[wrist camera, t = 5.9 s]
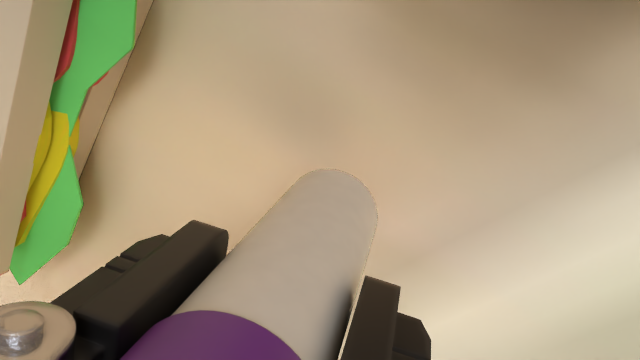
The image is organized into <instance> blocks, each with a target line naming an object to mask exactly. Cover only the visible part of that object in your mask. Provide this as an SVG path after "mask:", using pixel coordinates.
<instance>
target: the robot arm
mask: <svg viewBox="0 0 640 360" xmlns="http://www.w3.org/2000/svg"><path fill="white" fill-rule="evenodd" d="M228 239H229V236H228V232H227V231H226V230H224V229H221V228H218V227H215V226H211V225H208V224H205V223H202V222H199V221H196V220H192V221H190V222H189V223H188V224H186V225H185V226H184V227H182V228H181V229H180V230H178V231H177V232H176V233H174V234H173V235H172V236H171V237H169V236H166V235H163V234H161V235H158V236H154V237H151V238H148V239H145V240H141V241H138V242H137V243H135V244H134V245H132V246H131V247H130V248H128V249H127V250H125V251H124V252H122V253H121V255H120V257H118V256H117V257H115V258H114V259H112V260H111V261H109V262H108V263H107V264H106V266H105V267H101V268H99V269H98V270H97V271H95V272H94V273H92V274H91V275H89V276H88V277H87V278H85V279H84V280H82V281H81V282H79V283H78V284H76V285H75V286H74V287H72V288H71V289H69V290H68V291H66V292H65V293H64V294H62V295H61V296H59V297H58V298H56V299H55V300H54V301H52V302H51V303H46V302H36V301H26V302H16V303H10V304H6V305H2V306H0V360H120V359H121V358H122V357H123V355H124V354H125V353H126V352H127V351H128V350H129V349H130V348H131V347H132V346H133V345H134V344H135V343H136V342H137V341H138V340H139V339H140V338H141V337H142V336H143V335H144V334H145V333H146V332H147V331H148V330H149V329H150V328H151V327H152V326H154V325H155V324H156V323H158V322H160V321H161V320H163V319H165V318H167V317H170V316H171V315H172V314H173V313H174V312H175V311H176V310H177V309H178V308H179V306H180V305H181V304H182V303H183V302H184V301H185V300H186V299H187V298H188V297H189V296H190V295H191V294H192V293H193V291H194V290H195V289H196V288H197V287H198V286H199V285H200V284H201V283H202V282H203V281H204V280H205V279H206V278H207V276H208V275H209V274H210V273H211V272H212V271H213V270H214V269H215V268H216V267H217V266H218V265H219V264H220V262H221V261H222V260H223V259H224V258H225V257H226V252H227V246H228ZM399 296H400V286H397V285H394V284H391V283H388V282H385V281H382V280H379V279H375V278H372V277H369V276H366V275H365V279H364V282H363V285H362V289H361V292H360V295H359V299H358V302H357V306H356V309H355V312H354V316H353V319H352V322H351V326H350V329H349V332H348V336H347V339H346V343H345V346H344V349H343V353H342V356H341V360H431V339H430V337H429V335H428V333H427V331H426V330H425V328H424V326H423V324H422V322H421V320H419V319H416V318H413V317H410V316H407V315H404V314H401V313H398V312H397V310H398V303H399Z"/></svg>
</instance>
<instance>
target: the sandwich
mask: <svg viewBox="0 0 640 360" xmlns="http://www.w3.org/2000/svg"><path fill="white" fill-rule="evenodd" d="M152 2H153V0H0V275H2V274H4V273H6V272H8V271H9V268H10V270H11V272H12V274H13V275H14V277H15V279H16V280H17V282H18V284H19V285H21V284H22V283H23V282H24V281H26V280H27V279H28V278H29V277H30V276H32V275H33V274H34V273H35V272H36V271H37V270H39V269H40V268H41V267H42V266H43V265H45V264H46V263H47V262H48V261H49V260H50V259H52V258H53V257H54V256H55V255H56V254H58V253H59V252H60V251H61V250H62V249H63V248H65V247H66V246H67V245H68V244H69V242H70V240H71V237H72V234H73V231H74V229H75V226H76V223H77V221H78V218H79V215H80V212H81V210H82V207H83V199H82V195H81V190H80V186H79V181H78V180H79V178H80V175H81V173H82V170H83V168H84V166H85V163H86V161H87V158H88V156H89V154H90V151H91V149H92V146H93V144H94V142H95V139H96V137H97V134H98V132H99V130H100V127H101V125H102V122H103V120H104V118H105V115H106V113H107V110H108V108H109V106H110V103H111V101H112V98H113V96H114V94H115V91H116V89H117V86H118V84H119V82H120V79H121V77H122V74H123V72H124V70H125V67H126V65H127V62H128V60H129V58H130V55H131V53H132V50H133V49H134V46H135V43H136V41H137V38H138V36H139V34H140V31H141V29H142V26H143V24H144V22H145V19H146V17H147V14H148V12H149V10H150V7H151V5H152Z"/></svg>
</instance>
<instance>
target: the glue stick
mask: <svg viewBox="0 0 640 360" xmlns="http://www.w3.org/2000/svg"><path fill="white" fill-rule="evenodd" d="M377 219H378V215H377V208H376V204H375V201H374V198H373V196H372V195H371V193H370V191H369V190H368V188H367V187H366V186H365V185H364V184H363V183H362V182H361V181H360V180H358V179H357V178H355V177H354V176H352V175H350V174H348V173H346V172H343V171H340V170H335V169H320V170H315V171H312V172H309V173H307V174H305V175H304V176H302V177H301V178H299V179H298V180H297V181H296V182H295V183H294V184H293V185H292V186H291V187H290V188H289V190H288V191H287V192H286V193H285V194H284V195H283V196H282V197H281V198H280V199H279V200H278V201H277V202H276V203H275V205H274V206H273V207H272V208H271V209H270V210H269V211H268V212H267V213H266V214H265V215H264V216H263V217H262V218H261V220H260V221H259V222H258V223H257V224H256V225H255V226H254V227H253V228H252V229H251V230H250V231H249V232H248V234H247V235H246V236H245V237H244V238H243V239H242V240H241V241H240V242H239V243H238V244H237V245H236V246H235V247H234V249H233V250H232V251H231V252H230V253H229V254H228V255H227V256H226V257H225V258H224V259H223V260H222V261H221V262H220V264H219V265H218V266H217V267H216V268H215V269H214V270H213V271H212V272H211V273H210V274H209V275H208V276H207V278H206V279H205V280H204V281H203V282H202V283H201V284H200V285H199V286H198V287H197V288H196V289H195V290H194V291H193V293H192V294H191V295H190V296H189V297H188V298H187V299H186V300H185V301H184V302H183V303H182V304H181V305H180V306H179V308H178V309H177V310H176V311H175V312H174V313H173V314H172V315H171V316H170V317H167V318H165V319H163V320H161V321H160V322H158V323H156V324H155V325H154V326H152V327H151V328H150V329H149V330H148V331H147V332H146V333H145V334H144V335H143V336H142V337H141V338H140V339H139V340H138V341H137V342H136V343H135V344H134V345H133V346H132V347H131V348H130V349H129V350H128V351H127V352H126V353H125V354H124V355H123V357H122V358H121V359H120V360H337V359H338V356H339V353H340V349H341V346H342V342H343V339H344V336H345V332H346V329H347V325H348V322H349V319H350V315H351V312H352V308H353V305H354V302H355V298H356V295H357V291H358V288H359V285H360V281H361V278H362V274H363V271H364V268H365V264H366V261H367V257H368V254H369V251H370V247H371V244H372V240H373V237H374V234H375V230H376V226H377Z"/></svg>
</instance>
